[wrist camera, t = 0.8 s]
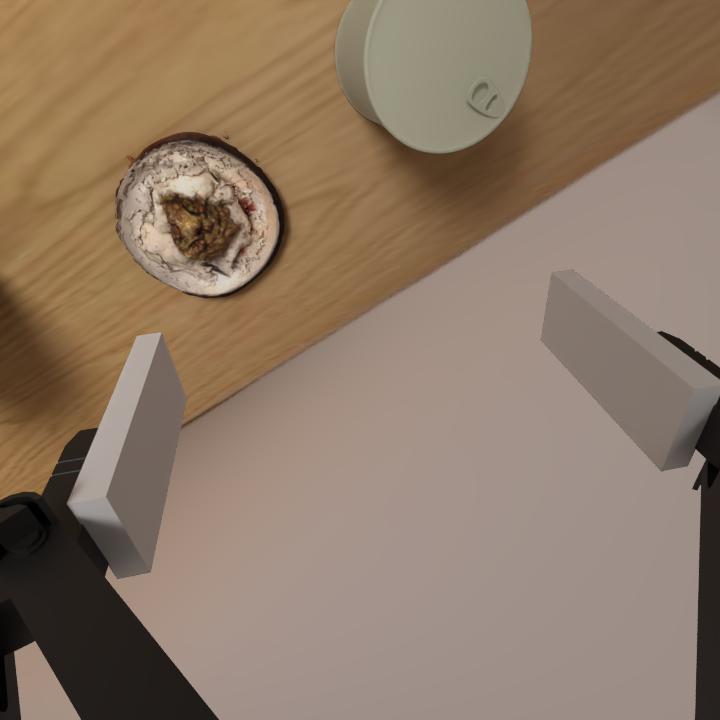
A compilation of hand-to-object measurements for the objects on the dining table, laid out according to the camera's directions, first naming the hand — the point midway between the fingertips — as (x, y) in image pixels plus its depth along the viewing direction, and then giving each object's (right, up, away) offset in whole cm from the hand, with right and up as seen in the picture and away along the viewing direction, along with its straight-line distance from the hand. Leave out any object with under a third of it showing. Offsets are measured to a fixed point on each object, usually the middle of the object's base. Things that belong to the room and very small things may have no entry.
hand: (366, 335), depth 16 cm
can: (+2, +21, +18) cm, 28 cm away
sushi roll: (-13, +11, +23) cm, 28 cm away
